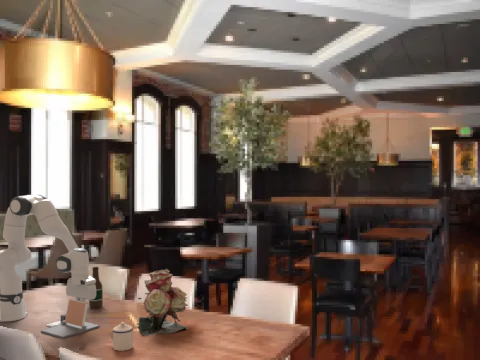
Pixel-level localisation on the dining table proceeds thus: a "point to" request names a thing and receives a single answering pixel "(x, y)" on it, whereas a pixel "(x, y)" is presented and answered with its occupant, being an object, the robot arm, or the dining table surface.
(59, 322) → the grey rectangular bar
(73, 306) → the tile
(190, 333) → the dining table surface
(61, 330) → the board
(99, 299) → the beer bottle
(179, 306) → the rose bouquet
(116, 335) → the teacup with lid
